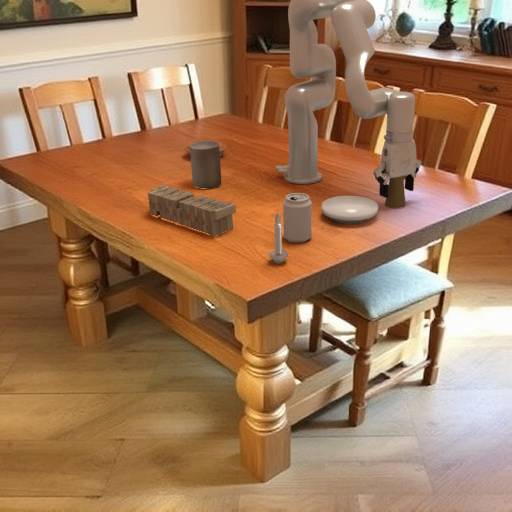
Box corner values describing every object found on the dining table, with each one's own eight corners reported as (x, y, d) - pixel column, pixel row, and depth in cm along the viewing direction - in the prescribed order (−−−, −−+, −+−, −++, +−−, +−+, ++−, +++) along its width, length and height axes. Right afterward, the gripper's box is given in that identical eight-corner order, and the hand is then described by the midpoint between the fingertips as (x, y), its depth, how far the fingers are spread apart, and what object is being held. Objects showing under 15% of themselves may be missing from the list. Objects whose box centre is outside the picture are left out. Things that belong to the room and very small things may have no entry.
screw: (292, 261, 169) (279, 267, 166) (277, 255, 172) (264, 262, 169) (291, 212, 164) (279, 218, 161) (276, 208, 167) (263, 213, 164)
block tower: (147, 218, 202) (218, 239, 184) (143, 191, 198) (215, 210, 180) (167, 210, 207) (237, 230, 189) (163, 184, 204) (235, 201, 186)
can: (282, 233, 185) (281, 192, 180) (309, 232, 186) (309, 190, 181) (285, 244, 179) (284, 202, 174) (313, 243, 179) (313, 200, 174)
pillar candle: (226, 181, 227) (224, 137, 220) (213, 191, 219) (209, 145, 212) (201, 179, 231) (198, 135, 224) (187, 188, 223) (183, 143, 216)
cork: (405, 208, 199) (407, 172, 195) (384, 207, 201) (386, 172, 196) (405, 201, 205) (407, 166, 200) (385, 200, 206) (387, 165, 201)
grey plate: (319, 226, 189) (319, 214, 188) (323, 205, 204) (324, 194, 202) (377, 228, 187) (377, 216, 185) (378, 207, 201) (378, 196, 199)
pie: (235, 154, 257) (234, 141, 254) (210, 165, 245) (210, 151, 243) (202, 148, 264) (201, 136, 262) (177, 159, 252) (176, 146, 250)
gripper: (384, 144, 187) (381, 202, 194) (431, 134, 195) (427, 190, 202) (367, 138, 193) (365, 195, 200) (413, 129, 201) (410, 184, 208)
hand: (396, 193), depth 201 cm, fingers open, 9 cm apart
